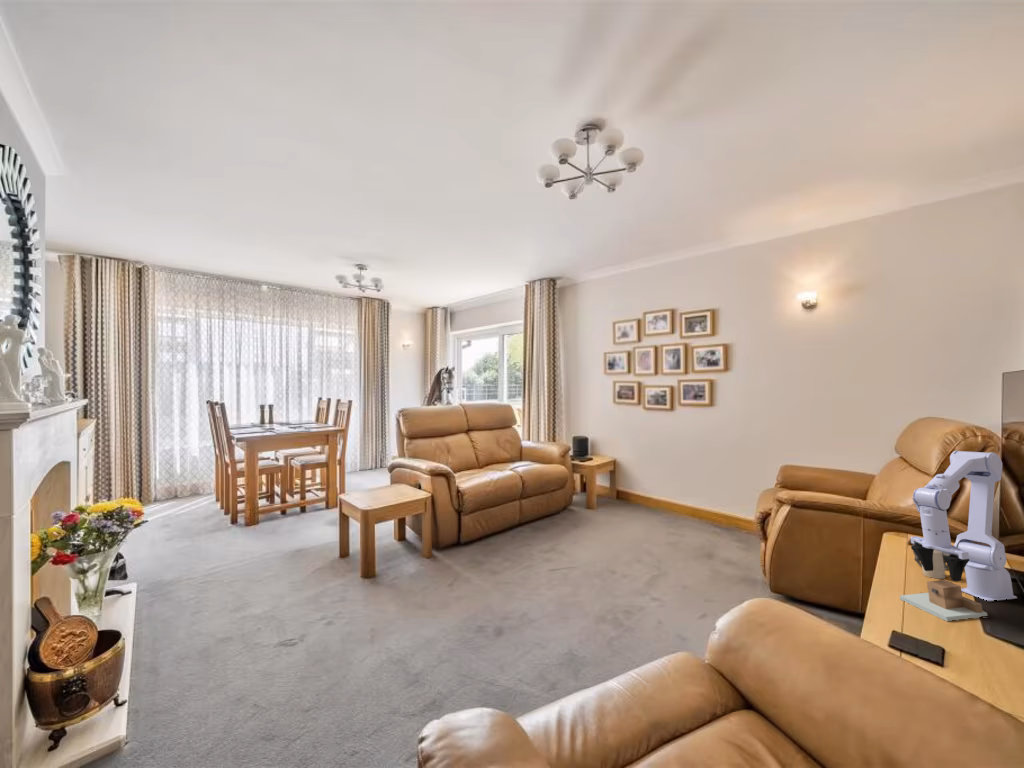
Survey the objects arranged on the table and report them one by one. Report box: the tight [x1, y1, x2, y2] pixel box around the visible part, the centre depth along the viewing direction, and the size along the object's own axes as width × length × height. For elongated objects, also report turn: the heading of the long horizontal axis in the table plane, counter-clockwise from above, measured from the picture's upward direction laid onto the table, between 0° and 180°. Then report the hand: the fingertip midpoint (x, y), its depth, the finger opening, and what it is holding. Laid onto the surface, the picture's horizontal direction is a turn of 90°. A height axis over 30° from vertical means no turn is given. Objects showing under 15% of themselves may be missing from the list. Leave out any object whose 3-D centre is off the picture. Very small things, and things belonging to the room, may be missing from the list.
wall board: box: [899, 592, 988, 622], centre depth 123 cm, size 12×14×3 cm
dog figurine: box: [911, 543, 950, 571], centre depth 149 cm, size 12×6×7 cm, turn 44°
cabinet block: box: [926, 579, 964, 609], centre depth 122 cm, size 6×4×6 cm
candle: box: [921, 550, 946, 580], centre depth 143 cm, size 6×6×10 cm
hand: (942, 575), depth 123 cm, fingers open, 7 cm apart
